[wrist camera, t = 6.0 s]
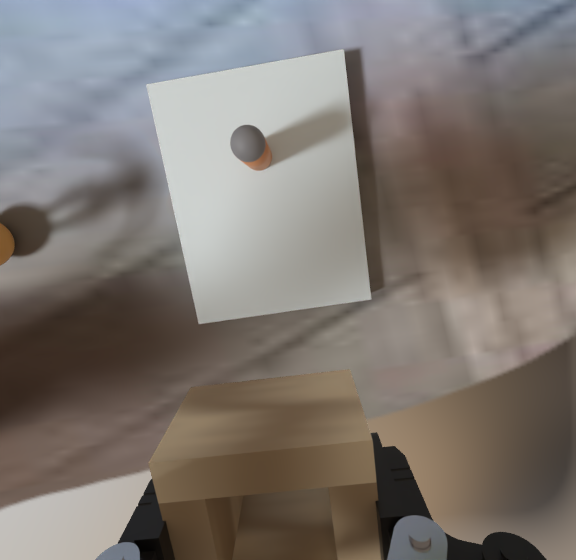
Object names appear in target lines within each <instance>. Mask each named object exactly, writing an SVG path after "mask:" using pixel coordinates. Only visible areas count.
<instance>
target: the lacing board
mask: <svg viewBox="0 0 576 560" xmlns="http://www.w3.org/2000/svg"><path fill="white" fill-rule="evenodd" d="M147 90H148V95H149V99H150V104H151V108H152V113H153V117H154V122H155V127H156V131H157V136H158V140H159V145H160V149H161V154H162V158H163V163H164V168H165V172H166V177H167V181H168V186H169V190H170V195H171V200H172V204H173V209H174V213H175V218H176V222H177V227H178V231H179V236H180V241H181V245H182V250H183V254H184V259H185V263H186V268H187V273H188V277H189V282H190V286H191V291H192V295H193V300H194V304H195V309H196V314H197V318H198V323H199V324H204V323H211V322H218V321H225V320H232V319H239V318H245V317H252V316H259V315H266V314H273V313H280V312H287V311H294V310H301V309H308V308H315V307H322V306H329V305H336V304H343V303H350V302H357V301H364V300H371V292H370V283H369V274H368V265H367V256H366V247H365V238H364V228H363V219H362V210H361V201H360V192H359V183H358V174H357V165H356V156H355V146H354V137H353V128H352V119H351V110H350V101H349V92H348V83H347V74H346V64H345V55H344V49H342V50H336V51H331V52H325V53H320V54H314V55H308V56H303V57H297V58H292V59H286V60H281V61H275V62H269V63H264V64H258V65H253V66H247V67H242V68H236V69H230V70H225V71H219V72H214V73H208V74H203V75H197V76H191V77H186V78H180V79H175V80H169V81H163V82H158V83H152V84H147Z"/></svg>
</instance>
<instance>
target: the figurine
mask: <svg viewBox="0 0 576 560" xmlns="http://www.w3.org/2000/svg"><path fill="white" fill-rule="evenodd" d="M14 246H15V243H14V238H13V236H12V234H11V232H10V231H9V230H8V229H7V228H6V227H5V226H4V225H3V224H1V223H0V265H2V264H4V263H5V262H6V261H7V260H8V259H9V258H10V257H11V256H12V254H13V251H14Z"/></svg>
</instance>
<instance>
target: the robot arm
mask: <svg viewBox="0 0 576 560" xmlns="http://www.w3.org/2000/svg"><path fill="white" fill-rule="evenodd" d="M371 436H372V440H373V449H374V460H375V470H376V481H377V492H378V501H375V502H376V512H377V522H378V533H379V543H380V554H381V560H546V558H545V557H544V556H543V555H542V554H541V553H540V552H539V550H538V549H537V548H536V547H535V546H533V545H532V544H531V543H529V542H528V541H527V540H525V539H523V538H521V537H520V536H517V535H515V534H511V533H506V532H496V533H492V534H490V535H488V536H487V537H486V538H485V539H484V541H483V544H482V545H480V544H476V543H471V542H466V541H462V540H458V539H456V538H453V537H451V536H450V535H448V534H446V533H445V532H444V531H443V530H442V528H441V527H440V526H439V525H438V524H437V523H435V522H434V521H433V519H432V518H431V515H430V513H429V511H428V508H427V506H426V504H425V501H424V499H423V497H422V495H421V492H420V490H419V488H418V485H417V483H416V480H415V479H414V476H413V473H412V471H411V470H410V466H409V465H408V462H407V460H406V457H405V455H404V454H403V453H401V452H400V451H399V450H398V449H397V448H396V447H395V446H391V447H382V444H381V442H380V439H379V436H378V434H377V433H371ZM96 560H175V557H174V552H173V548H172V544H171V540H170V536H169V532H168V528H167V524H166V521H163V520H162V516H161V512H160V508H159V504H158V500H157V496H156V492H155V488H154V484H153V480H152V479H151V480H150V482H149V484H148V486H147V488H146V490H145V492H144V495H143V496H142V497H141V499H140V501H139V503H138V506H137V507H136V509H135V511H134V513H133V515H132V517H131V519H130V521H129V523H128V524H127V527H126V528H125V530H124V532H123V534H122V536H121V538H120V540H119V542H118V544H116V545H114V546H112V547H110V548H108V549H107V550H105V551H104V552H103V553H102V554H100V555H99V556H98V557H97V558H96Z"/></svg>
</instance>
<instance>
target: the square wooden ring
mask: <svg viewBox="0 0 576 560" xmlns="http://www.w3.org/2000/svg"><path fill="white" fill-rule="evenodd" d="M148 464H149V468H150V472H151V476H152V480H153V484H154V488H155V492H156V496H157V500H158V504H159V508H160V512H161V516H162V520H163V521H166V524H167V528H168V532H169V536H170V540H171V544H172V548H173V552H174V557H175V560H381V554H380V543H379V533H378V522H377V512H376V502H375V501H378V492H377V481H376V470H375V460H374V449H373V440H372V436H371V433H370V430H369V428H368V424H367V421H366V418H365V415H364V412H363V409H362V406H361V402H360V399H359V396H358V393H357V390H356V387H355V384H354V381H353V378H352V375H351V371H350V369H348V370H339V371H330V372H321V373H312V374H304V375H295V376H286V377H277V378H268V379H259V380H250V381H242V382H233V383H224V384H215V385H206V386H197V387H191V388H190V390H189V391H188V393H187V395H186V397H185V399H184V400H183V402H182V404H181V406H180V408H179V409H178V411H177V413H176V415H175V416H174V418H173V420H172V422H171V424H170V425H169V427H168V429H167V431H166V433H165V434H164V436H163V438H162V440H161V441H160V443H159V445H158V447H157V449H156V450H155V452H154V454H153V456H152V458H151V459H150V461H149V463H148Z"/></svg>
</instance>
